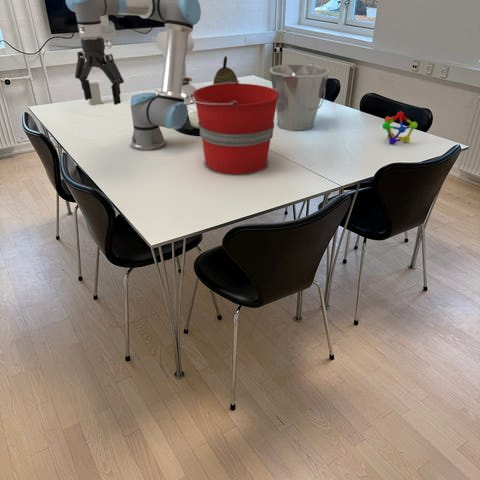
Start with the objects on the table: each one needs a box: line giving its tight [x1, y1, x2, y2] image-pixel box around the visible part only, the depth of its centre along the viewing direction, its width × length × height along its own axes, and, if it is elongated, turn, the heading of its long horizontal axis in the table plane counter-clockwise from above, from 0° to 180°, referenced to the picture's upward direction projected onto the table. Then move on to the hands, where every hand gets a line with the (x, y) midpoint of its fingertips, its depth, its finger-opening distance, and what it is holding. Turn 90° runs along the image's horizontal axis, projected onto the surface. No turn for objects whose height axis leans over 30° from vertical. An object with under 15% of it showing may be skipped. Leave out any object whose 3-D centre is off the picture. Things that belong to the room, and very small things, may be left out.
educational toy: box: [382, 110, 418, 145], centre depth 207 cm, size 16×13×15 cm
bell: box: [212, 56, 239, 85], centre depth 278 cm, size 19×26×20 cm
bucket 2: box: [269, 63, 330, 131], centre depth 226 cm, size 30×30×28 cm
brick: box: [89, 82, 103, 106], centre depth 265 cm, size 5×6×11 cm
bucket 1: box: [190, 81, 279, 175], centre depth 181 cm, size 35×35×30 cm
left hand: (102, 101), depth 160 cm, fingers open, 13 cm apart
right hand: (103, 49), depth 248 cm, fingers open, 8 cm apart
